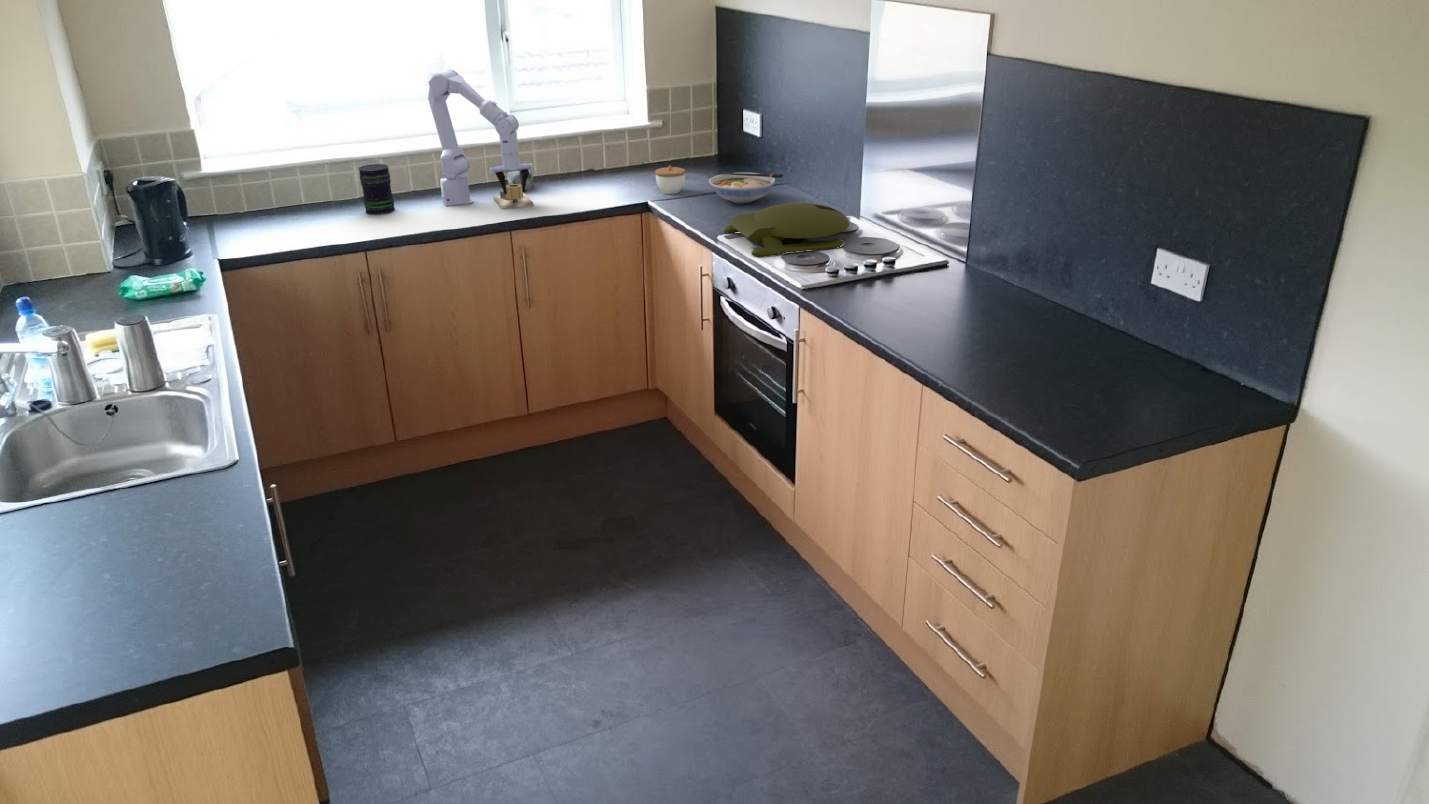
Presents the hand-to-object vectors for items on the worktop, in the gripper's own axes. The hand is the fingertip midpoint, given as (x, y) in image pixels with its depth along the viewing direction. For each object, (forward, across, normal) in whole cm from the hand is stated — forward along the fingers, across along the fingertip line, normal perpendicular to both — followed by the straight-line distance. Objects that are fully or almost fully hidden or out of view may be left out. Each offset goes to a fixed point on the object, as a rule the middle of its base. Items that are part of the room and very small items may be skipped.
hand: (514, 192), depth 355 cm
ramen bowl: (+5, +73, -29) cm, 79 cm away
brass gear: (+2, 0, 0) cm, 2 cm away
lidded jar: (+5, +55, -6) cm, 56 cm away
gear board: (+4, 0, +4) cm, 6 cm away
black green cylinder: (+5, -44, +13) cm, 46 cm away
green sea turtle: (+5, +69, -76) cm, 103 cm away
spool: (+5, +7, +23) cm, 25 cm away
